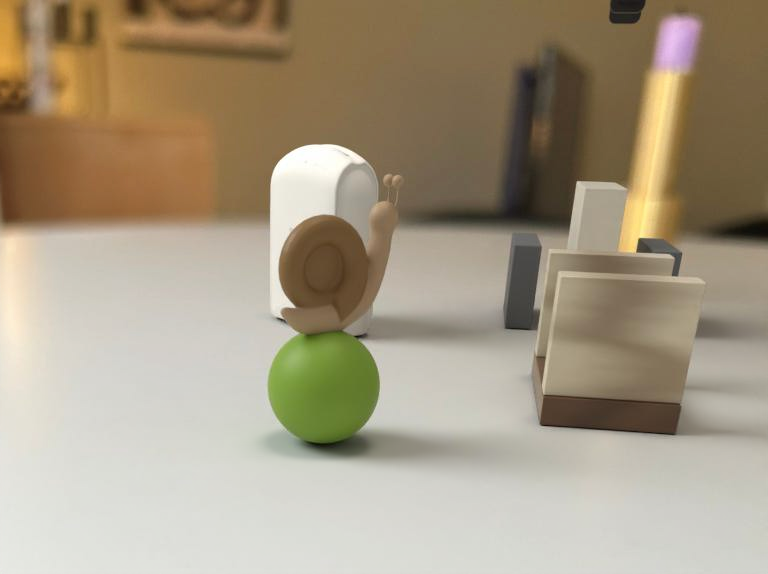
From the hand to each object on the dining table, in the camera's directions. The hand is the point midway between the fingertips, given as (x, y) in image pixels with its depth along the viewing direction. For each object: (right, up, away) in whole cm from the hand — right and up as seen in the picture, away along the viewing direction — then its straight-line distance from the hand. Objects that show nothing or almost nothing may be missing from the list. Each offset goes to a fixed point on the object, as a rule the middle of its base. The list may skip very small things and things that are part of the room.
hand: (624, 18), depth 69 cm
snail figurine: (-21, -33, -19) cm, 44 cm away
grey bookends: (0, -18, +11) cm, 21 cm away
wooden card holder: (-5, -29, -11) cm, 32 cm away
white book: (0, -18, +11) cm, 21 cm away
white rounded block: (-21, -19, +7) cm, 29 cm away
